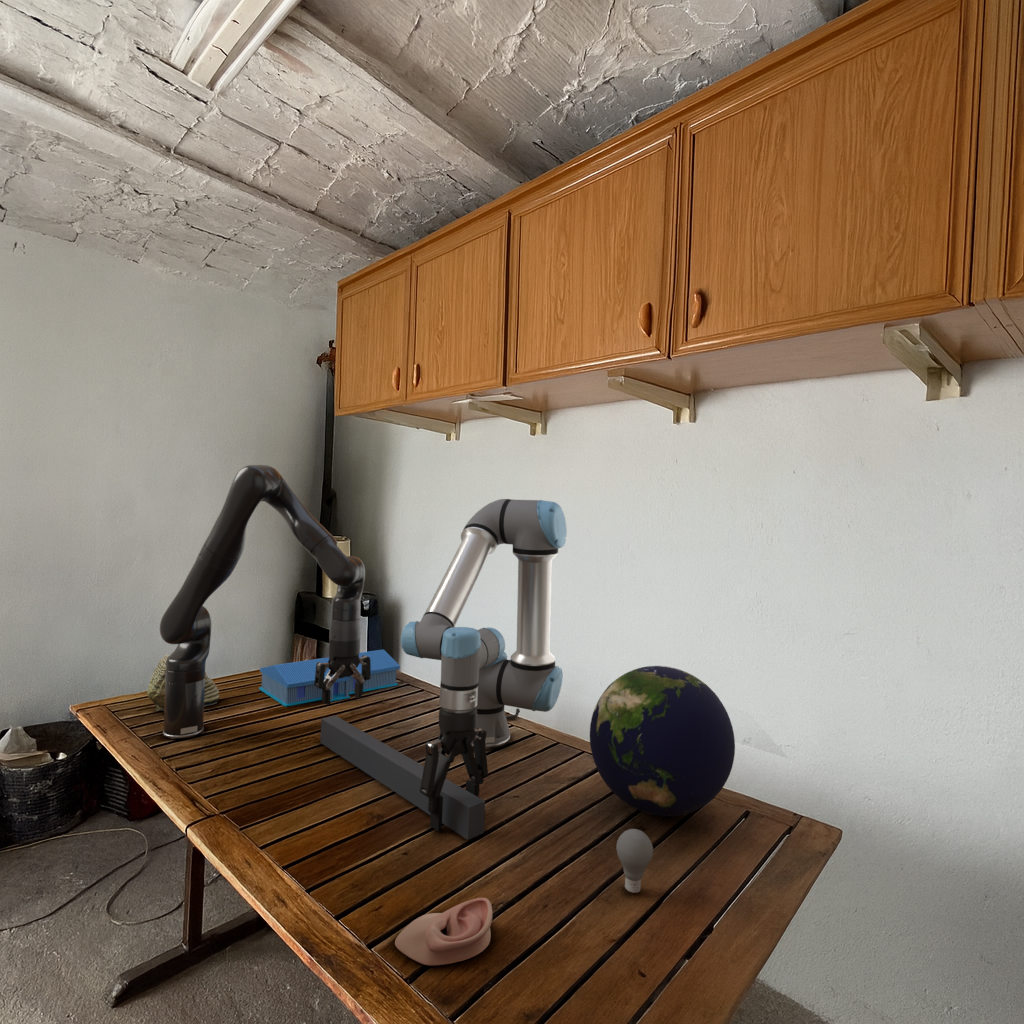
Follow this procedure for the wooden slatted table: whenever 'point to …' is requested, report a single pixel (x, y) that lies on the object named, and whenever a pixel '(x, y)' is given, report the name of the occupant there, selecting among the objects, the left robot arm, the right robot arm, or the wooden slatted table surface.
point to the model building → (298, 679)
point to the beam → (402, 775)
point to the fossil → (158, 687)
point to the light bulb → (634, 857)
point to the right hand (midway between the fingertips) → (453, 820)
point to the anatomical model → (448, 934)
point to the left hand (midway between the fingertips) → (342, 700)
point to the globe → (662, 740)
